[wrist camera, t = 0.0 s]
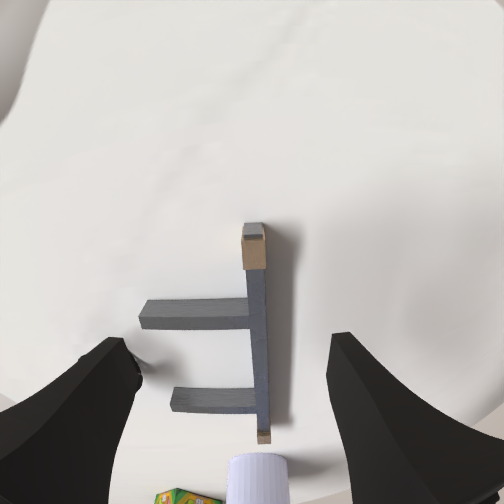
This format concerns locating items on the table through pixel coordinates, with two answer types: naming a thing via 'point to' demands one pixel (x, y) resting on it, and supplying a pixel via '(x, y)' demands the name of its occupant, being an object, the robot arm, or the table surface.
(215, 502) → the chalk box
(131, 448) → the table surface
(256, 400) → the bracket
